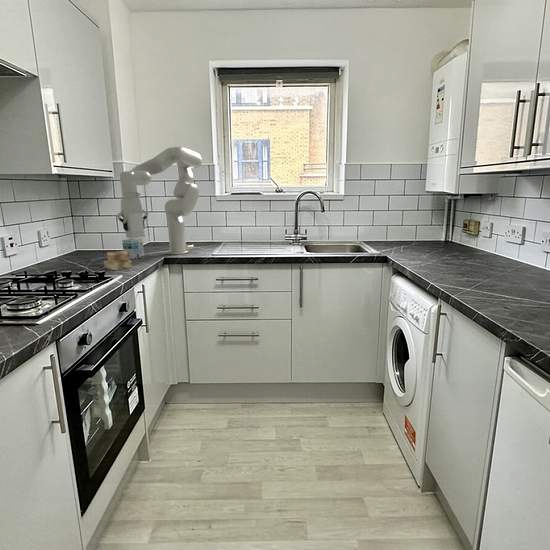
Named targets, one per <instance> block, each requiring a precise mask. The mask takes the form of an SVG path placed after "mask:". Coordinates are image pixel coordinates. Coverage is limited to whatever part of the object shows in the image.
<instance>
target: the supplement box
mask: <svg viewBox="0 0 550 550" xmlns="http://www.w3.org/2000/svg"><path fill="white" fill-rule="evenodd" d="M123 217H124V215H123ZM123 217H122V218H123ZM142 217H143V216H142V213H136V214H128V218H127V221H126V223H127V228H128V230H127V231H125V230H124V232H125V239H126V238H127V239H129V238H132V239H133V238H144V237H145V227H144V226H143V219H142Z"/></svg>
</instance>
